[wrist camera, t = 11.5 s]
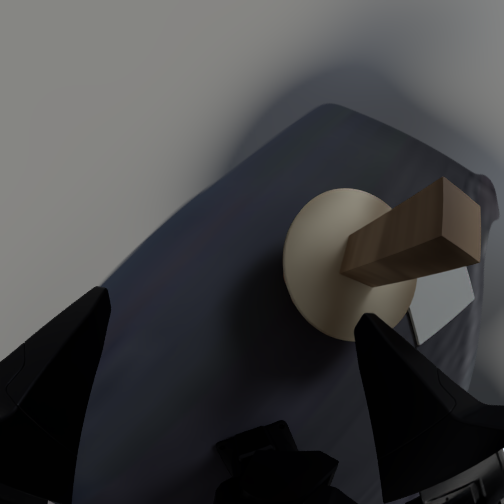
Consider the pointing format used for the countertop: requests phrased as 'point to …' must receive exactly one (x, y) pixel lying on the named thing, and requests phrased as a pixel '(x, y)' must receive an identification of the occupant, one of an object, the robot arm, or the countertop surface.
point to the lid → (374, 252)
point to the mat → (439, 301)
